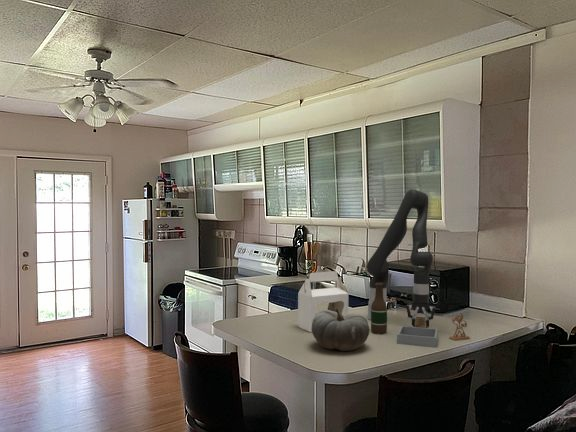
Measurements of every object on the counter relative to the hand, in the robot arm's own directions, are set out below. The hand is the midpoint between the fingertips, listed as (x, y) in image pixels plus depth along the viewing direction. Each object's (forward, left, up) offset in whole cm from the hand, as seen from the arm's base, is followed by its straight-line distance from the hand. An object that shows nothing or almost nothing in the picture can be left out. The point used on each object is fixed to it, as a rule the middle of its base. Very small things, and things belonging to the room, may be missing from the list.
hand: (420, 326), depth 241 cm
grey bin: (0, -16, -2) cm, 16 cm away
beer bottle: (-19, -8, -3) cm, 21 cm away
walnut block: (0, 0, -3) cm, 3 cm away
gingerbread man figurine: (+18, -6, -3) cm, 19 cm away
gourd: (-31, -38, -3) cm, 49 cm away
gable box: (-47, -8, -3) cm, 48 cm away
